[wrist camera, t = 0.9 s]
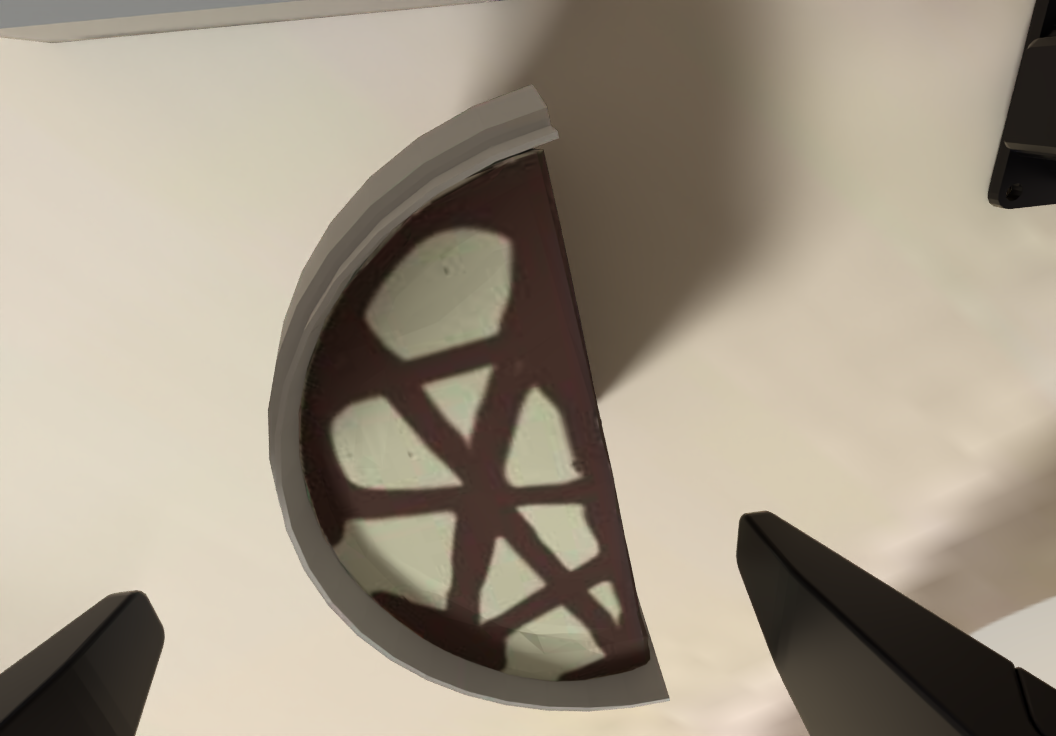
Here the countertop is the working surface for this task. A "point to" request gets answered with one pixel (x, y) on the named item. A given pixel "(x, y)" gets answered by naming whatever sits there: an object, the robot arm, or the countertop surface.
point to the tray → (172, 15)
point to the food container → (459, 430)
